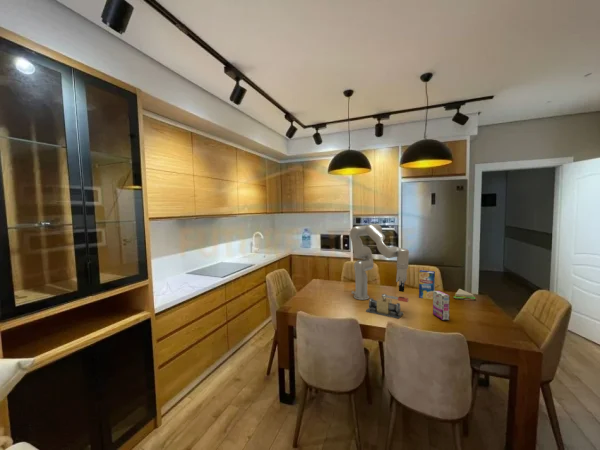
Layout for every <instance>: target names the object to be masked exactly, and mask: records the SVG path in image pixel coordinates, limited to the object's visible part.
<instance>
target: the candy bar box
mask: <svg viewBox="0 0 600 450" xmlns="http://www.w3.org/2000/svg"><path fill="white" fill-rule="evenodd" d="M432 315H434V316H436V317H437V318H439V319H440V320H442V321H450V295H449V294H447V293H445V292H443V291H440V290H435V291H433V300H432Z"/></svg>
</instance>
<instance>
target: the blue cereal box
mask: <svg viewBox="0 0 600 450" xmlns="http://www.w3.org/2000/svg"><path fill="white" fill-rule="evenodd" d="M433 291H436V271H434V270H433V271H431V270H424V269H423V270H421V269H420V270H419V271H418V298H419V299H425V300H431V301H433Z"/></svg>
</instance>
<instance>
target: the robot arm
mask: <svg viewBox="0 0 600 450" xmlns="http://www.w3.org/2000/svg"><path fill="white" fill-rule="evenodd" d="M363 236H369V237H370V238H371V240H372V241H373V242H375V244H376V247H377V248H376V249H377V251H378V252H379V253H380V254H381V255H382V256H383V257H385V258H387V259H392V258H396V277H395V278H396V279H395V280H396V281H395V282H396V283H398V292H401V293H404V292H405V284H406V283H405V282H406V281H407V277H408V269H409V257H410V255H409V253H410V251H409V249H408V248H401V247H399V246H391V247H389V246H387V245H386V244H385V242H384V241H385V239H386V235H384V233H383V227H382V226H381V224H377V223H375V224H373V223H371V224H367V225H366V224H365V225H356V226H353V227H352V228H351V229H350V231H349V238H350V240H351V245H352V250H353V255H354V258H356V259H359V260H356V261H355V262H354V264H353V267H354V274H355V275H354V276H355V291H354V290H351V294H352V295H353V298H354V299H356V300H360V301H362V300H363V301H366V300H370V295H368V275H367V272H366V271H370V270H373V268H374V260H373V259H374V258H373V254H372V250H371V248H370V247H369V246H367V245H364V244H363V240H362V239H361V237H363Z"/></svg>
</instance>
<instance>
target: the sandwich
mask: <svg viewBox="0 0 600 450" xmlns="http://www.w3.org/2000/svg"><path fill="white" fill-rule="evenodd" d="M453 298H455V299H456V300H464V301H475V299H476V297H475V294H472V293H470V292H468V291H467V290H463V289H461V288H458V290H457V291H456V292H455V294H454V296H453Z"/></svg>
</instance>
